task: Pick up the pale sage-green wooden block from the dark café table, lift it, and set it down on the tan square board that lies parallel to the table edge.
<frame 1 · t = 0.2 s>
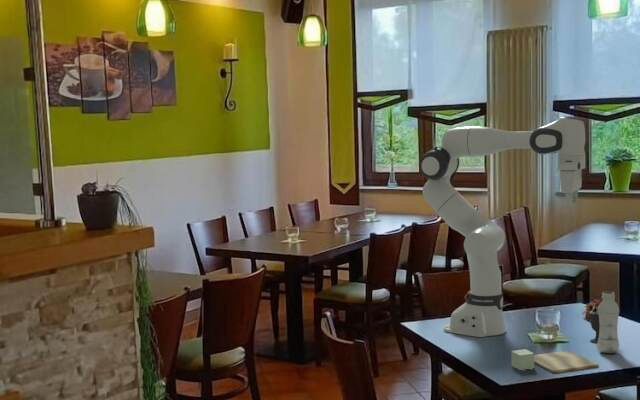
hand: (571, 204, 266), 48 cm above the table, tool pointing down, fingers open, 8 cm apart
sundae: (597, 342, 267), on the table
sage block: (522, 367, 243), on the table
flower: (593, 319, 297), on the table
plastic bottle: (608, 353, 254), on the table
tan square board: (561, 362, 246), on the table
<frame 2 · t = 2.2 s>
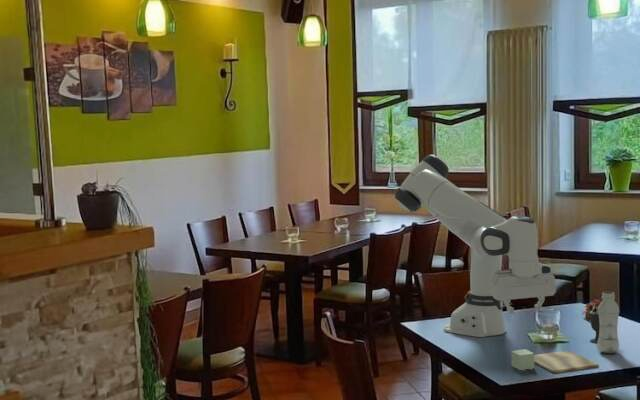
hand: (524, 311, 242), 17 cm above the table, tool pointing down, fingers open, 8 cm apart
nothing on the table moved.
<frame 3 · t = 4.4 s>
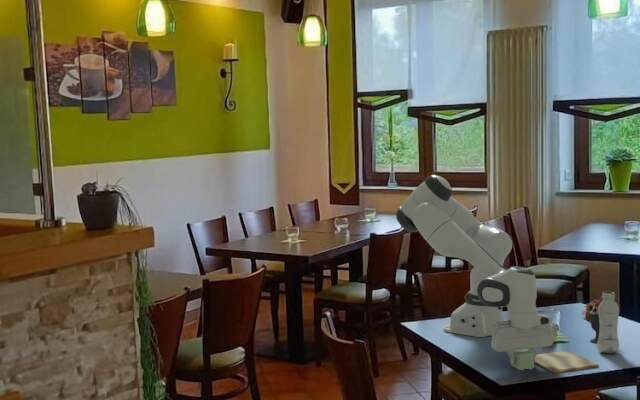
hand: (522, 362, 242), 2 cm above the table, tool pointing down, fingers closed on sage block, 5 cm apart
sage block: (522, 367, 243), on the table, touching gripper
everything else where it was.
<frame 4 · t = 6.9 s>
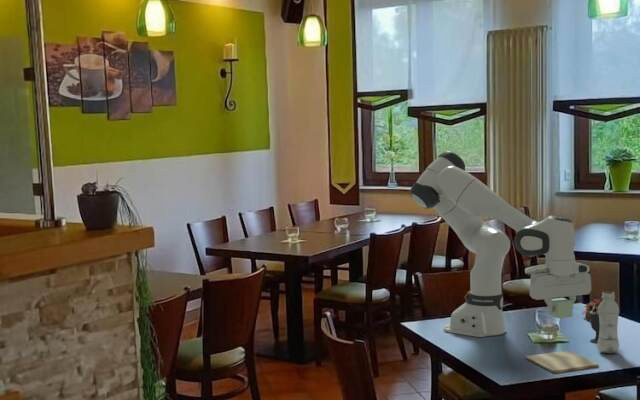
hand: (560, 310, 244), 17 cm above the table, tool pointing down, fingers closed on sage block, 5 cm apart
sage block: (560, 315, 244), point 15 cm above the table, touching gripper
everything else where it was.
when the fingers open (4 cm above the table, at t = 9.3 s): sage block drops 1 cm, resting on tan square board.
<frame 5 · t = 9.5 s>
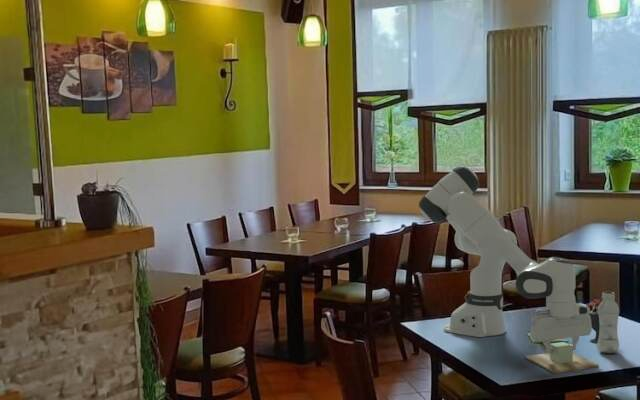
hand: (561, 351, 245), 4 cm above the table, tool pointing down, fingers open, 7 cm apart
sage block: (561, 360, 246), point 1 cm above the table, touching tan square board
everything else where it was.
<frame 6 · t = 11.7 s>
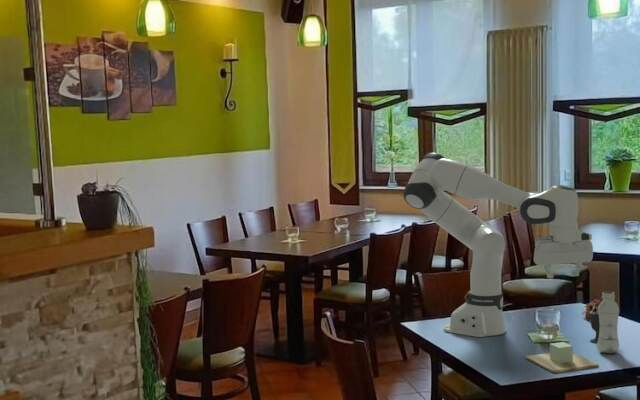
hand: (562, 276, 254), 25 cm above the table, tool pointing down, fingers open, 8 cm apart
nothing on the table moved.
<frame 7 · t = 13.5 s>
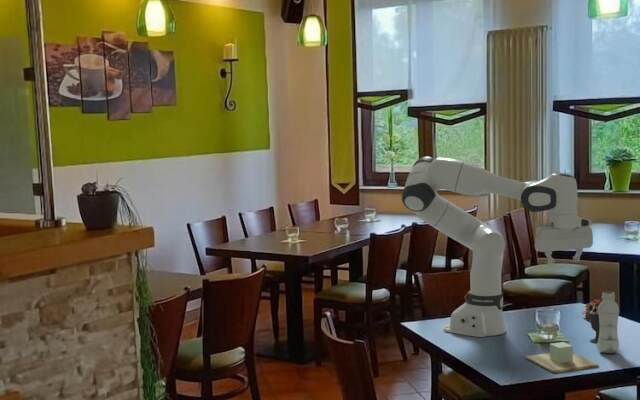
hand: (563, 262, 258), 29 cm above the table, tool pointing down, fingers open, 8 cm apart
nothing on the table moved.
at the end: sage block inside the target area on the tan square board (0.1 cm from its centre), point 0.8 cm above the tan square board's base; sage block tilted 0°; the gripper is holding nothing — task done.
